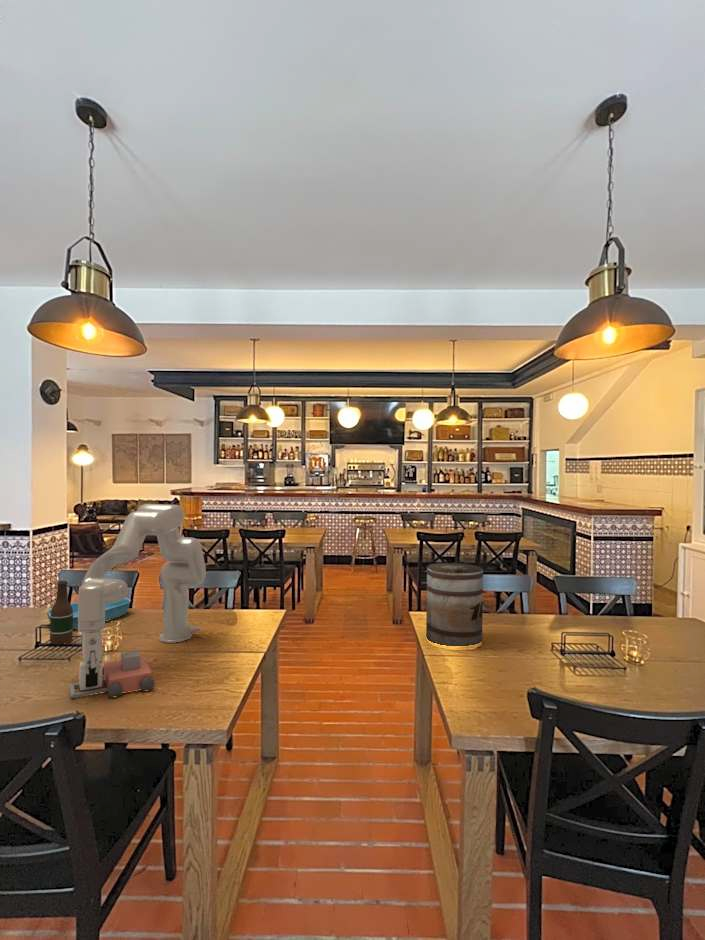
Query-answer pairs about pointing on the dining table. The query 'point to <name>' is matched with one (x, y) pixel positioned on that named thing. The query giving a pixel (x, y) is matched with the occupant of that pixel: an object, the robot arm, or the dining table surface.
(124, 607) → the casserole dish
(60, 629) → the beer bottle
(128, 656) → the pink toy truck
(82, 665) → the stepped cream block
